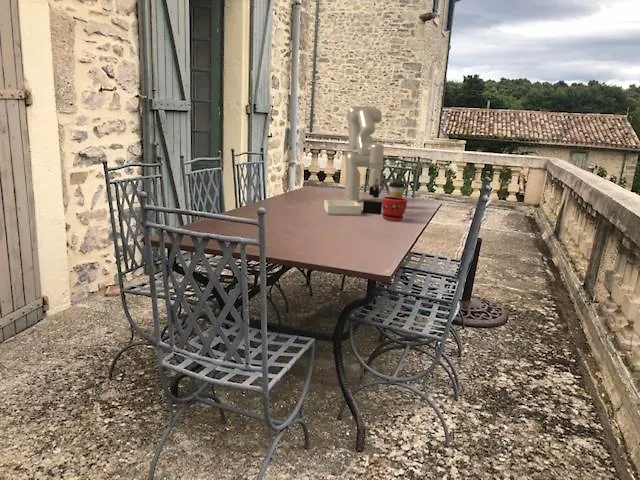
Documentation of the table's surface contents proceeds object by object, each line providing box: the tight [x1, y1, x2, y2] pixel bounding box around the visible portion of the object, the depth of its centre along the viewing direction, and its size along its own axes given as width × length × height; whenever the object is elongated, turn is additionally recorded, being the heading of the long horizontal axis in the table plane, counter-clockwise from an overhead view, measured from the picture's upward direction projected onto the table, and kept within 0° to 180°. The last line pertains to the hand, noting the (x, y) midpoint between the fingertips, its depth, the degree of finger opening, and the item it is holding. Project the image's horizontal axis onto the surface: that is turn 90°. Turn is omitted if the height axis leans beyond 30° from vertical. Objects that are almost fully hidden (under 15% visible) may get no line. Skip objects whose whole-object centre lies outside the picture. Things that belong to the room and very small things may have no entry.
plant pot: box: [381, 196, 408, 222], centre depth 264 cm, size 13×13×12 cm
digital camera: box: [362, 200, 383, 216], centre depth 280 cm, size 10×5×7 cm, turn 76°
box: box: [323, 199, 362, 217], centre depth 277 cm, size 17×19×6 cm
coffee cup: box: [388, 181, 406, 207], centre depth 300 cm, size 10×10×15 cm
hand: (373, 196), depth 278 cm, fingers open, 9 cm apart
